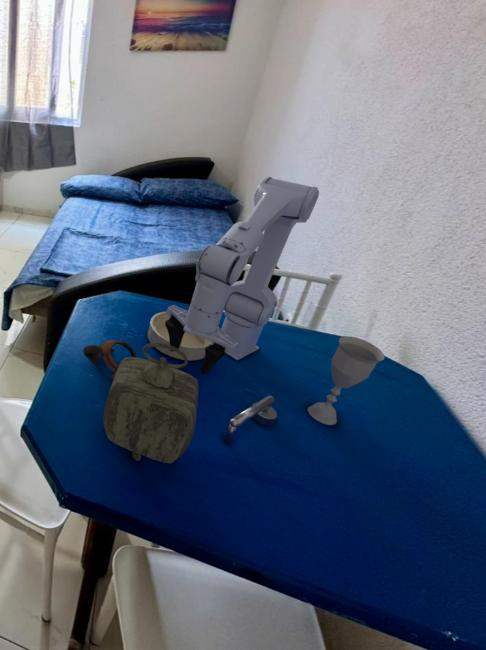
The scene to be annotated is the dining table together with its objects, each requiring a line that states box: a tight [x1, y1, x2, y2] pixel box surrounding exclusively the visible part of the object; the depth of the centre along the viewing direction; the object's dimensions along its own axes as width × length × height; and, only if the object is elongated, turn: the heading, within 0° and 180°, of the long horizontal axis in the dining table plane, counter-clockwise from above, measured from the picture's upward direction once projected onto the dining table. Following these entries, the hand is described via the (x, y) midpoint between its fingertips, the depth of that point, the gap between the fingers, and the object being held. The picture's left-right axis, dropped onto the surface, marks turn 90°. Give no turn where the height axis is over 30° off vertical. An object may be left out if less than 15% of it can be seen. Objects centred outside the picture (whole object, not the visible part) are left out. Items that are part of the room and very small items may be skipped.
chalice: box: [307, 335, 386, 426], centre depth 81 cm, size 7×7×18 cm
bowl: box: [146, 311, 213, 361], centre depth 104 cm, size 15×15×4 cm
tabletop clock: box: [102, 342, 200, 464], centre depth 70 cm, size 14×9×25 cm, turn 64°
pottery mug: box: [83, 340, 138, 381], centre depth 95 cm, size 12×10×8 cm
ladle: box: [223, 395, 278, 443], centre depth 81 cm, size 15×4×6 cm, turn 120°
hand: (189, 360), depth 84 cm, fingers open, 7 cm apart
